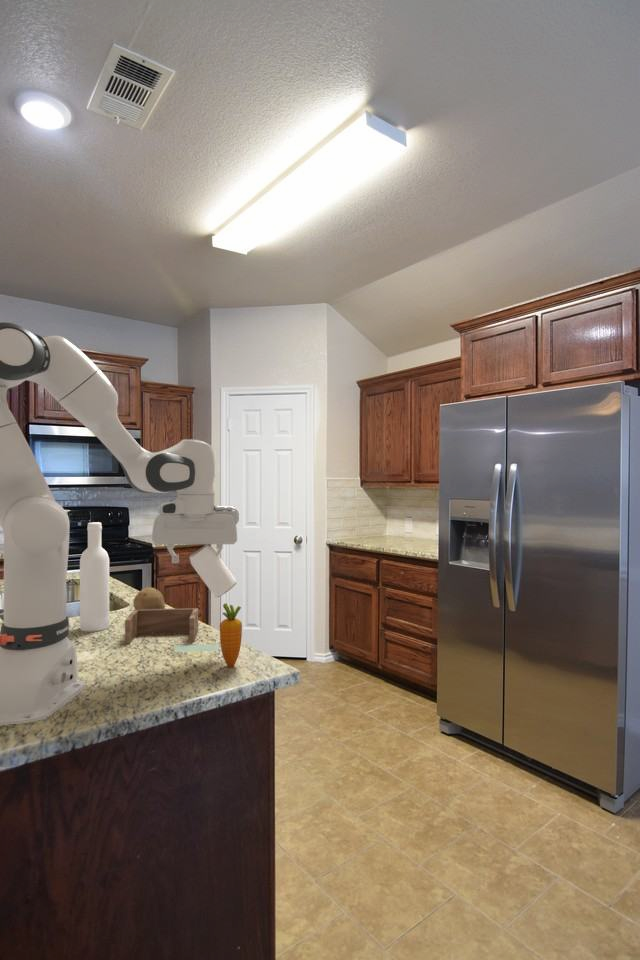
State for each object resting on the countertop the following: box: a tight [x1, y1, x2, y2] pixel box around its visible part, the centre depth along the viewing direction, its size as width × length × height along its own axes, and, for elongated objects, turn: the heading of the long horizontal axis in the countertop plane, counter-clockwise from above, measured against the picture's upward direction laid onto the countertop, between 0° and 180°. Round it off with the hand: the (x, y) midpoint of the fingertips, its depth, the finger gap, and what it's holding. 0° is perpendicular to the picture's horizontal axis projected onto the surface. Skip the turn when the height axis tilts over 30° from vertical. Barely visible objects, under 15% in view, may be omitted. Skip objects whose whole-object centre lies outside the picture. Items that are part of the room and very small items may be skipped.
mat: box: [173, 643, 221, 653], centre depth 131 cm, size 11×11×1 cm
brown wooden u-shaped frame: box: [124, 607, 199, 645], centre depth 143 cm, size 10×17×6 cm, turn 97°
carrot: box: [219, 603, 243, 668], centre depth 121 cm, size 5×5×15 cm
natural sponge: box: [132, 586, 166, 610], centre depth 160 cm, size 9×9×10 cm
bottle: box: [79, 521, 111, 633], centre depth 152 cm, size 8×8×30 cm
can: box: [188, 544, 237, 598], centre depth 131 cm, size 6×6×12 cm
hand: (195, 562), depth 130 cm, fingers open, 8 cm apart
